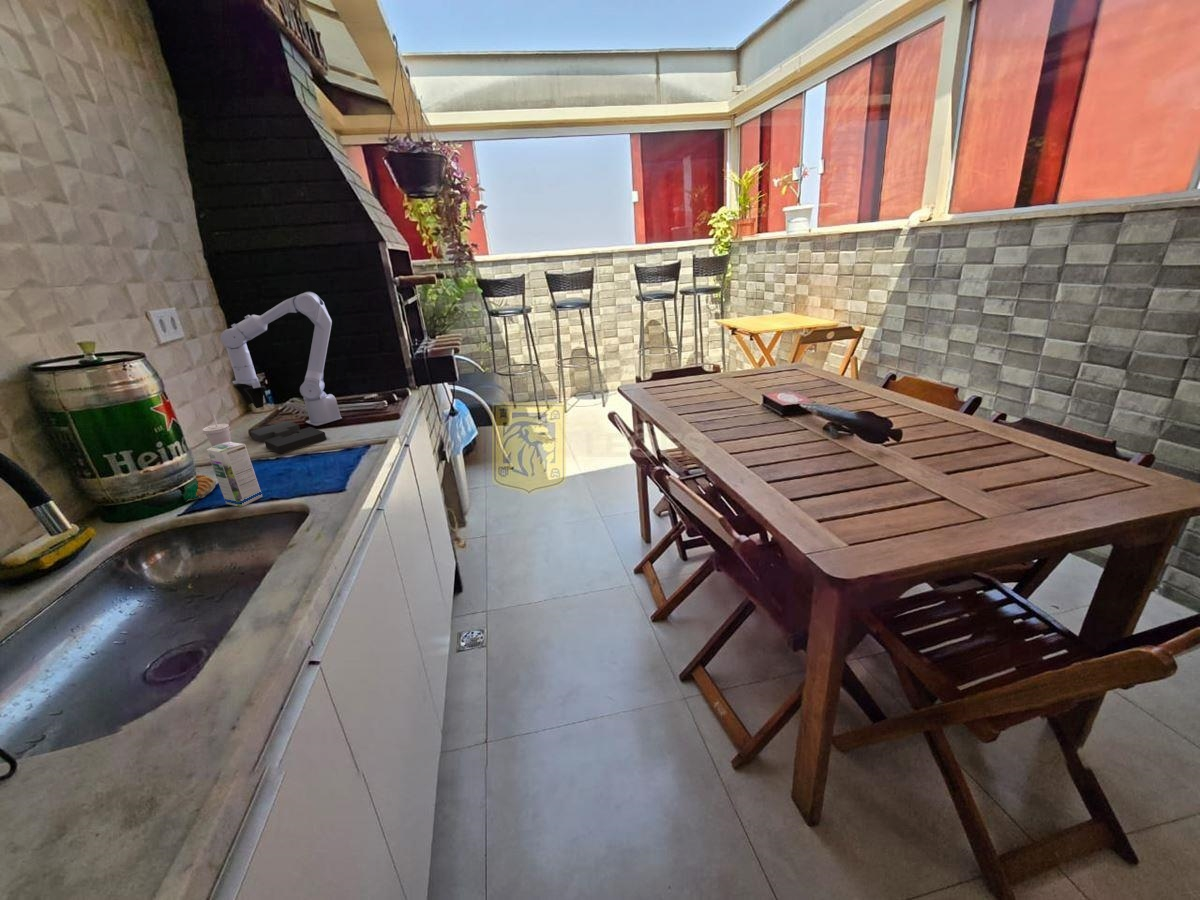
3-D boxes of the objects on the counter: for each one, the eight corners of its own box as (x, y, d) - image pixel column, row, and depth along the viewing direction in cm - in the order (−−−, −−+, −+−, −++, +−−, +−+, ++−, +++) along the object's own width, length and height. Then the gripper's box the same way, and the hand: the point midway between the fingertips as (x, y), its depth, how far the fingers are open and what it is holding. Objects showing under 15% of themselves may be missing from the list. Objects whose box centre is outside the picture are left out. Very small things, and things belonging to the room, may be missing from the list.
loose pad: (290, 427, 169) (288, 420, 168) (304, 432, 163) (302, 425, 162) (251, 438, 161) (249, 431, 160) (265, 444, 155) (263, 437, 154)
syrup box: (225, 504, 118) (203, 449, 112) (249, 493, 123) (229, 440, 117) (240, 508, 116) (219, 452, 110) (264, 496, 121) (245, 442, 115)
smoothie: (229, 461, 143) (212, 416, 137) (208, 462, 143) (190, 417, 138) (244, 452, 149) (229, 409, 143) (224, 453, 149) (207, 409, 144)
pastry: (209, 499, 121) (204, 485, 119) (176, 506, 118) (170, 492, 117) (218, 484, 129) (213, 471, 127) (187, 490, 126) (181, 477, 125)
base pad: (312, 433, 162) (310, 426, 161) (326, 439, 157) (324, 432, 156) (266, 447, 152) (263, 440, 151) (280, 454, 146) (277, 446, 146)
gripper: (220, 365, 161) (233, 405, 166) (237, 371, 153) (250, 412, 158) (244, 361, 166) (256, 400, 171) (262, 366, 158) (274, 406, 163)
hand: (255, 405), depth 165 cm, fingers open, 7 cm apart
